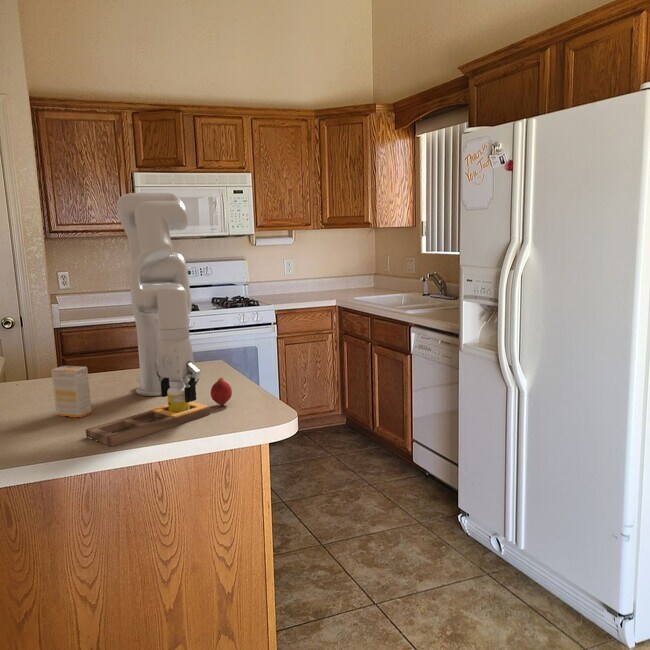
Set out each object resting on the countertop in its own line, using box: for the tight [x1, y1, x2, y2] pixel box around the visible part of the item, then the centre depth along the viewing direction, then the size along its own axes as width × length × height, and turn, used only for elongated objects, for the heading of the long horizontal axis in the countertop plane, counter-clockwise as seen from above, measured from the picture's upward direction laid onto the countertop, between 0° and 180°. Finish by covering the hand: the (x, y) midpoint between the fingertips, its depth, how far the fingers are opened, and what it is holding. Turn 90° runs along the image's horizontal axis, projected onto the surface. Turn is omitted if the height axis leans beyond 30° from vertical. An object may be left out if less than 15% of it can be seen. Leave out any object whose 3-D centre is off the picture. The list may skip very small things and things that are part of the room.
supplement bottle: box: [167, 379, 190, 413], centre depth 158 cm, size 5×5×10 cm
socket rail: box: [85, 401, 211, 447], centre depth 151 cm, size 11×29×2 cm, turn 142°
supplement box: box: [51, 365, 92, 418], centre depth 162 cm, size 8×5×13 cm, turn 71°
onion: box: [210, 377, 233, 406], centre depth 166 cm, size 6×6×8 cm
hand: (178, 398), depth 157 cm, fingers open, 9 cm apart
